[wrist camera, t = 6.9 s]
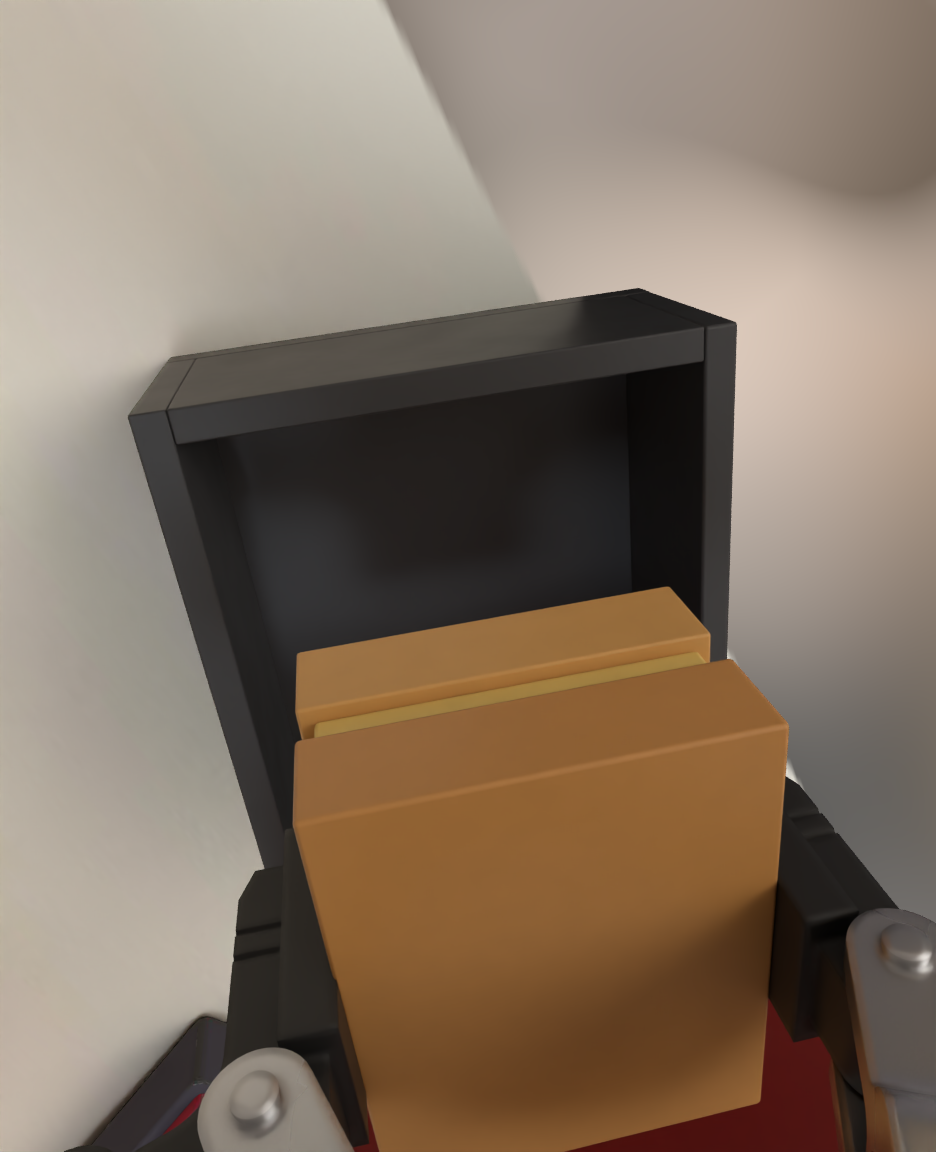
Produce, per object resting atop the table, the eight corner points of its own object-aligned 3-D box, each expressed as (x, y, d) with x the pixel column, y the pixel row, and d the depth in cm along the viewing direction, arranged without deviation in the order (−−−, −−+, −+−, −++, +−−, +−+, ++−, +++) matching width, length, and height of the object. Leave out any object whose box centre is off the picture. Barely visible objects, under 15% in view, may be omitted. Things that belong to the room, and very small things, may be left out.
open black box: (169, 357, 23) (126, 415, 18) (640, 287, 25) (739, 321, 19) (287, 792, 30) (283, 933, 25) (648, 718, 32) (722, 835, 26)
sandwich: (296, 651, 12) (290, 824, 9) (669, 584, 13) (792, 724, 9) (373, 980, 15) (390, 1196, 12) (669, 915, 16) (761, 1105, 13)
